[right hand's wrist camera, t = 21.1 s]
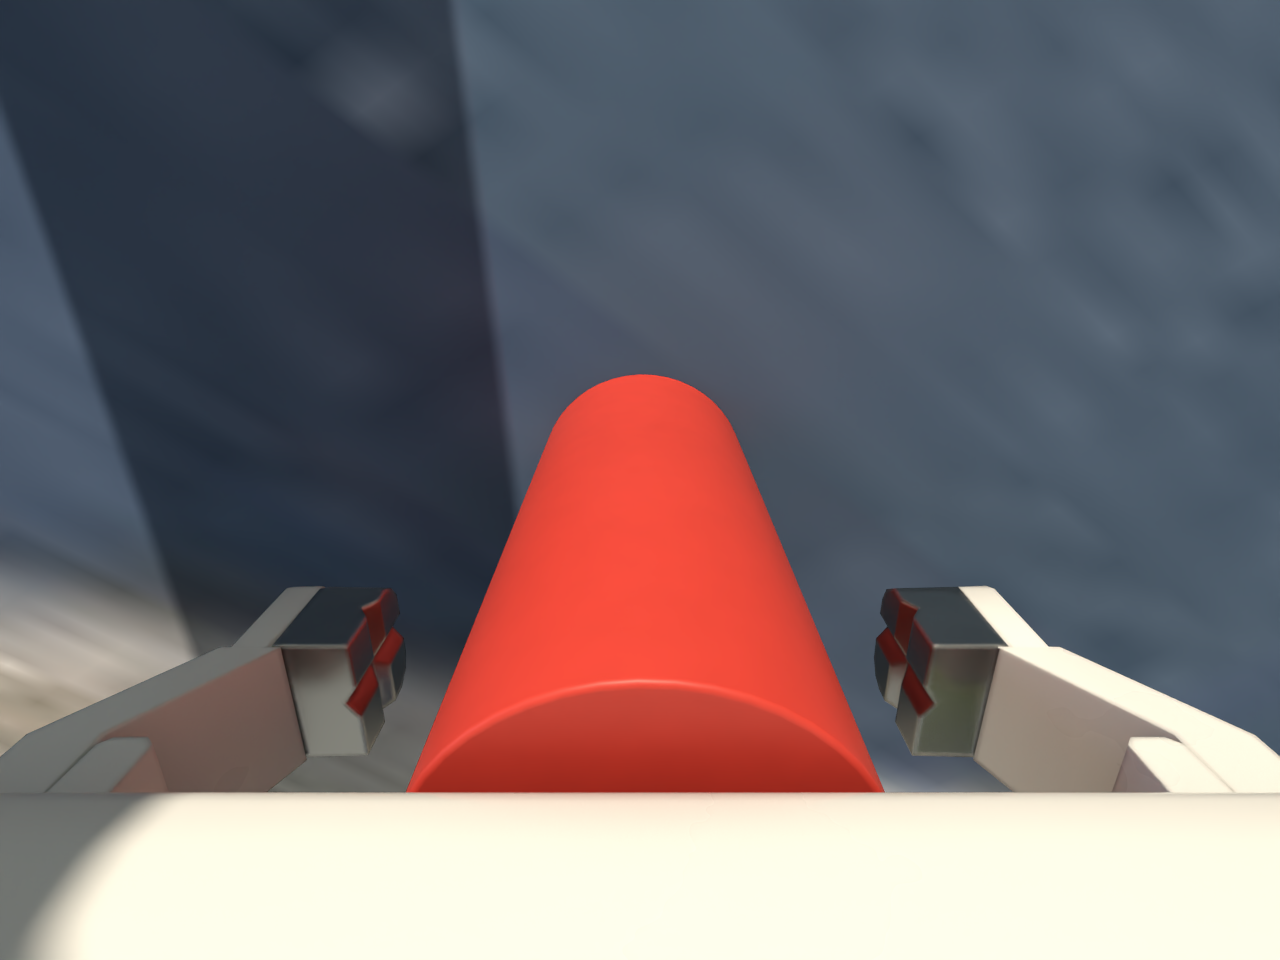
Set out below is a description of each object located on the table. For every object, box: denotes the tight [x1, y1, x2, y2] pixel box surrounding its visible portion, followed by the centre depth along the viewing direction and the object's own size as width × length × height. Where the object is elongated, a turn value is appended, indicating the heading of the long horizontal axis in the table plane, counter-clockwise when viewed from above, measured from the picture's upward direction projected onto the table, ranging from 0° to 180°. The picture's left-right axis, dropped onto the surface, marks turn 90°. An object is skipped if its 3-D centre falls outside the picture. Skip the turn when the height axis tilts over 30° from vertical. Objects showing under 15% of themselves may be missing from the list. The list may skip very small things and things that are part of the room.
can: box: [406, 375, 884, 793], centre depth 12 cm, size 5×5×11 cm
